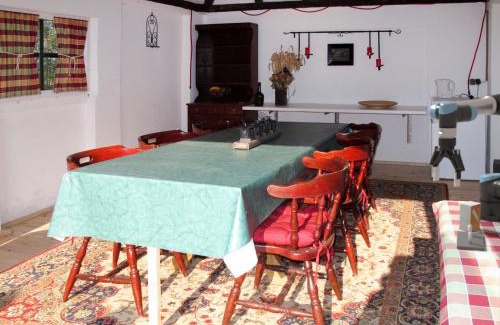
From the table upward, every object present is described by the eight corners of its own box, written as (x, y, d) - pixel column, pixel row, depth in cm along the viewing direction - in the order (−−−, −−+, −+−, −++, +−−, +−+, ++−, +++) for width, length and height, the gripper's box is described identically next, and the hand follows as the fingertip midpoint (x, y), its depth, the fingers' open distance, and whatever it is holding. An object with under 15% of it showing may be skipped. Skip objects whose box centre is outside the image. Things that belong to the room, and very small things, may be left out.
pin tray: (457, 233, 262) (457, 221, 261) (482, 235, 258) (482, 222, 257) (456, 248, 242) (457, 235, 241) (483, 250, 238) (484, 237, 237)
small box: (470, 232, 264) (471, 206, 262) (458, 229, 269) (459, 203, 267) (480, 229, 268) (481, 203, 266) (468, 226, 274) (469, 200, 271)
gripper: (422, 134, 256) (421, 179, 260) (460, 141, 233) (459, 189, 237) (435, 133, 258) (434, 177, 262) (474, 139, 235) (473, 187, 239)
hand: (446, 183), depth 249 cm, fingers open, 13 cm apart
